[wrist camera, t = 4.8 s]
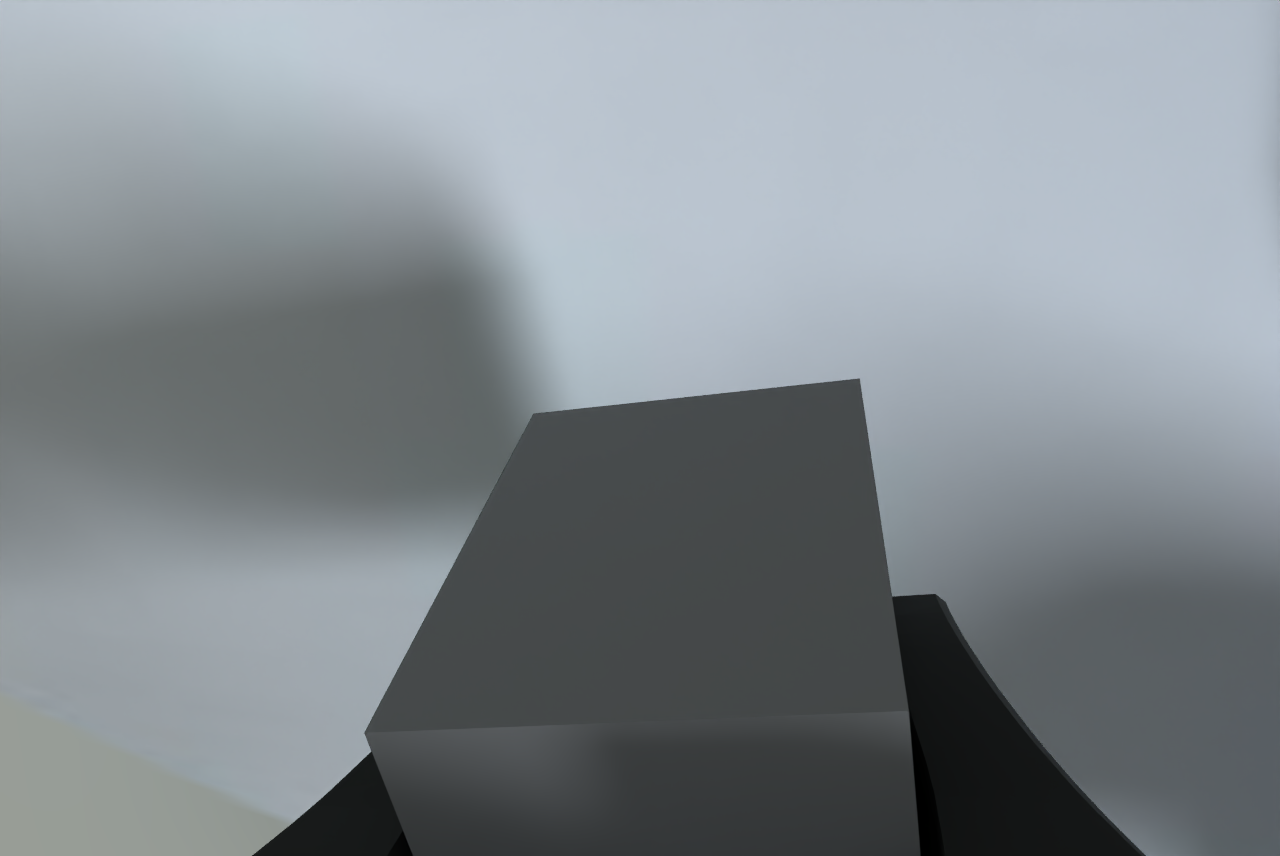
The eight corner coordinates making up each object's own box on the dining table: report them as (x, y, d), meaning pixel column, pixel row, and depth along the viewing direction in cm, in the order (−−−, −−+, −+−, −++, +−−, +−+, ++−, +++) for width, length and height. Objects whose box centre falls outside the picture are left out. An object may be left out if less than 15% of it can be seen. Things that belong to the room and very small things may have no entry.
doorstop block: (894, 760, 14) (948, 1201, 9) (622, 768, 15) (540, 1177, 10) (859, 378, 11) (908, 709, 7) (533, 413, 12) (364, 733, 7)
